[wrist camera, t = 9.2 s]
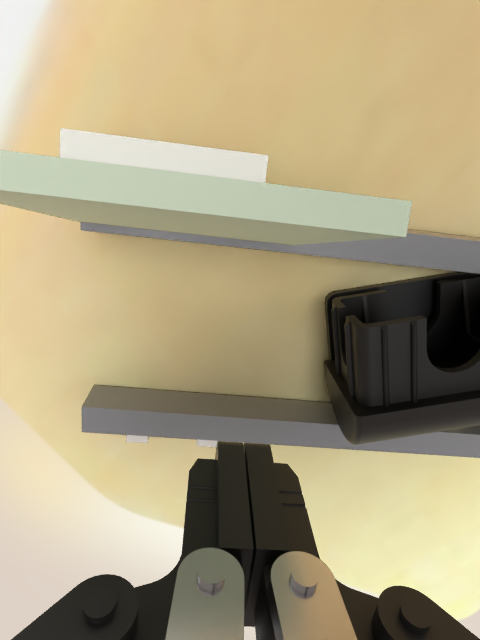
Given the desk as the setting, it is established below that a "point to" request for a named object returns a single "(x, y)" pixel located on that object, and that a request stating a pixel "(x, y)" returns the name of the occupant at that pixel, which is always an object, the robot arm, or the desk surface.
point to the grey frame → (269, 413)
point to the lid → (188, 193)
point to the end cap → (405, 357)
